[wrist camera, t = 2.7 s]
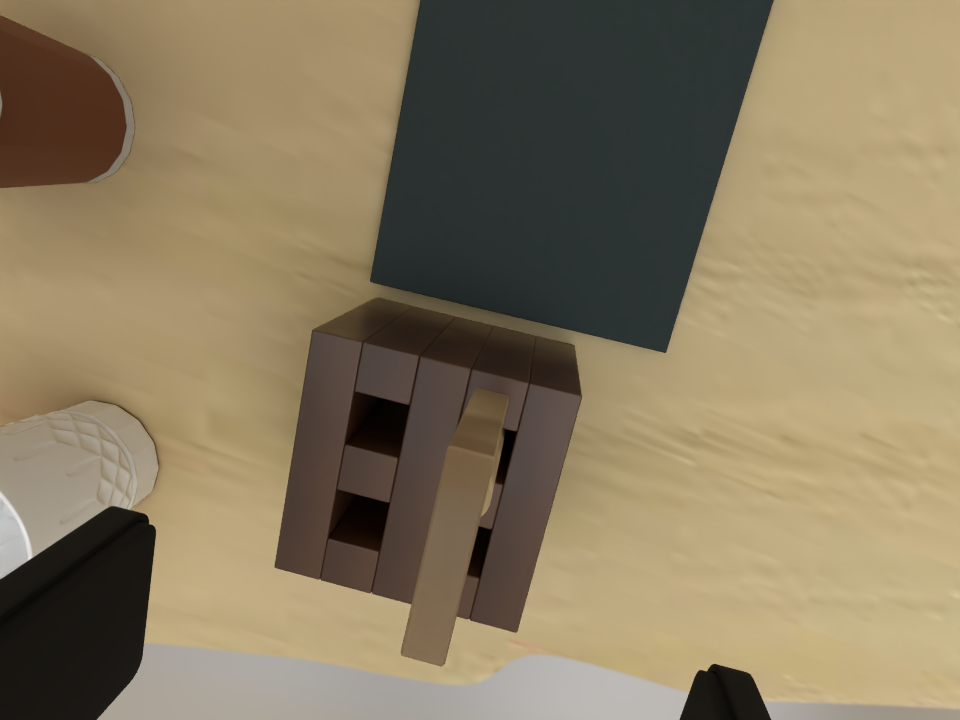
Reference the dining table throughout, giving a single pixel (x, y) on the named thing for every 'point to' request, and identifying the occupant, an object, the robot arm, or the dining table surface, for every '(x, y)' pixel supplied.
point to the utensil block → (422, 452)
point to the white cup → (68, 474)
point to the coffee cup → (58, 112)
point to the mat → (564, 156)
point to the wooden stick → (455, 526)
